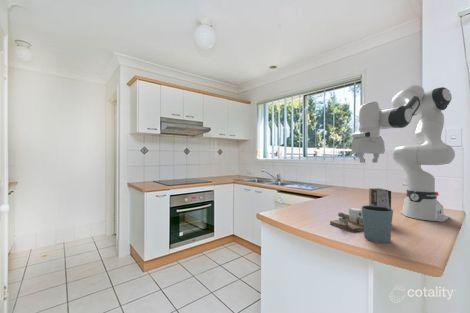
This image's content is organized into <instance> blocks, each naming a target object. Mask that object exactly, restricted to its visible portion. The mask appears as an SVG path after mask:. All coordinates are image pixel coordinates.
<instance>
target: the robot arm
mask: <svg viewBox="0 0 470 313" xmlns="http://www.w3.org/2000/svg"><path fill="white" fill-rule="evenodd" d="M452 98H453V97H452V93H451V91H450V90H449V89H448V88H447V87H444V86H443V87H437V88H434V89H431V90H427V91H425V90H424V88H423V87H422V86H420V85H417V84H416V85H415V84H414V85H410V86H408V87H405V88H404V89H402V90H401V91H399V92H398V93H397V94H395V95H394V96H393V97H392V100H391V105H392V106H391V107H392V108H389V109H388V108H387V109H382V108H380V106H379V105H380V104H379V102H377V101H371V102H367V103H363V104H361V105H360V107H359V114H358V123H359V128H358V131H357V132H354V133H352V134H351V138H352V139H351V151H352V153H353V154H357V156H358V158H359V163H360V164H362V163H363V164H364V163H366V159H365V157H364V156H365V154H371V155H373V158H372V159H371V162H372V163H373V164H375V163H376V164H377V163H378V161H379V157H380V155H383V154H385V151H386V149H385V141H384V139H383V137H382V136H381V135H380V134H381V133H380V132H381V130H386V129H404V128H406V127H407V126H409V124H410V123H411V122H412V118H413V116H417V115H421V117H420V118H419V121H418V122H417V125H416V129H415V131H414V135H413V137H414V140H415V141H416V142H417V143H420V144H404V145H400V146H396V147H395V148H394V149H393V151H392V154H391V155H392V159H393V160H394V161H395V163H397V165H399V166H401V168H403V170H404V172H405V175H406V180H407V181H406V182H407V189H406V192H405V193H406V197H405V198H404V199H403V206H402V210H400V214H403V216H405V217H409V218H412V219H415V220H422V221H423V220H424V221H433V222H442V223H443V222H445V221H447V220H449V218H450V215H448V214H444V206H443V205H442V203H441V202H440V201H439V200H438V196H439V195H440V194H439V192H438V191H436V190H435V188H436V187H435V186H436V185H435V184H436V181H435V180H436V178H435V177H434V175H433V174H432V173H431V172H428V171H426V170H424V169H423V167H422V166H443V165H450V164H451V163H452V162H453V161H454V160H455V156H456V153H455V149H453V147H452V146H451V145H449V144H447V143H446V142H444V141H443V140H442V132H443V129H444V126H445V115H444V113H443V112H442V111H445V110H446V109H447V108H448V106H449V105H450V103H451V101H452Z"/></svg>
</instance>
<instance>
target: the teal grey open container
mask: <svg viewBox="0 0 470 313" xmlns="http://www.w3.org/2000/svg"><path fill="white" fill-rule="evenodd" d="M361 210H362V216H363V225H364V230H363V237H364V238H365V239H366V240H367V239H368V241H370V242H374V243H378V244H389V243H390V242H391V239H392V227H393V226H392V223H393V215H394V209H392V208H391V209H390V208H387V207H382V206H371V205H369V204H368V205H362V206H361Z"/></svg>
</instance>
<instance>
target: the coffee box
mask: <svg viewBox="0 0 470 313" xmlns="http://www.w3.org/2000/svg"><path fill="white" fill-rule="evenodd" d="M368 205H371V206H382V207H387V208H390V209H392V191H391V190H388V189H385V188H378V187H377V188H376V187H375V188H374V187H373V188H370V187H369V188H368Z"/></svg>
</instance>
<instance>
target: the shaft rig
mask: <svg viewBox="0 0 470 313" xmlns="http://www.w3.org/2000/svg"><path fill="white" fill-rule="evenodd" d="M337 216H338V219H334V220H330V222H329V223H330V224H329V225H332V226H334V227H338V228H340V229H343V230H345V231H349V232H352V233H358V232H362V231H363V232H364V225H363V219H359V224H356V223H352V222H349V213H348V214H347V213H343V212H341V211H339V212H338V215H337Z"/></svg>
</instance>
